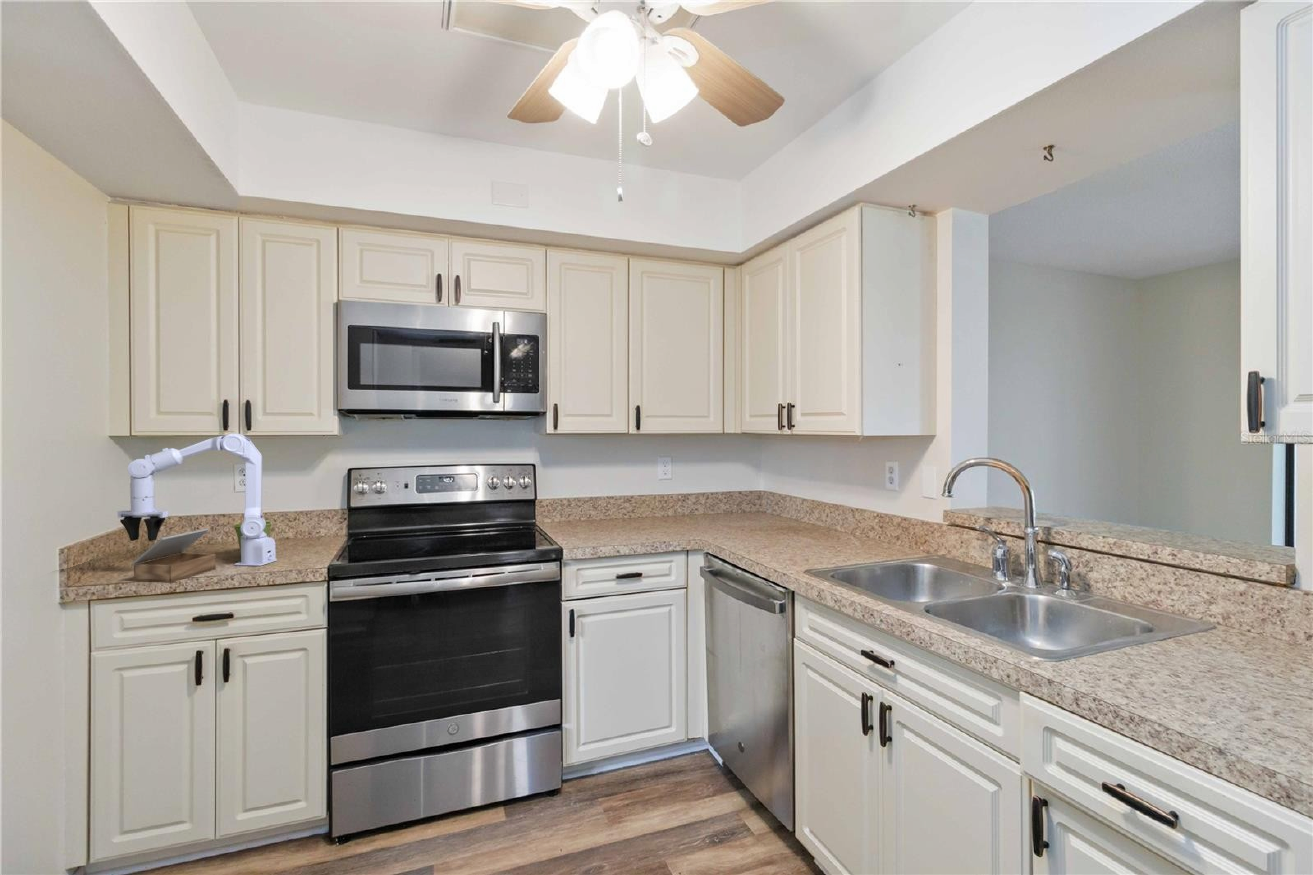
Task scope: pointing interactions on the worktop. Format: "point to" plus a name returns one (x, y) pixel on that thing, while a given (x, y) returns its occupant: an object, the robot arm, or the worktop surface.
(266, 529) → the plant pot
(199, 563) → the box base
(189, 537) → the lid
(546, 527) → the worktop surface
